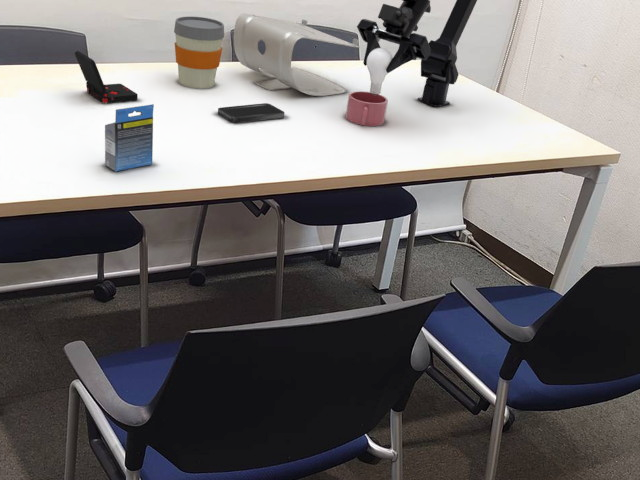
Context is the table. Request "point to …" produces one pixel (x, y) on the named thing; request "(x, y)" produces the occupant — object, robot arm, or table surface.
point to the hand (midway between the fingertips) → (375, 68)
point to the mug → (366, 108)
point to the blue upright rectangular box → (129, 139)
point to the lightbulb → (378, 68)
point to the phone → (250, 112)
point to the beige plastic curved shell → (281, 53)
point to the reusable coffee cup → (198, 50)
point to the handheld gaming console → (96, 86)
